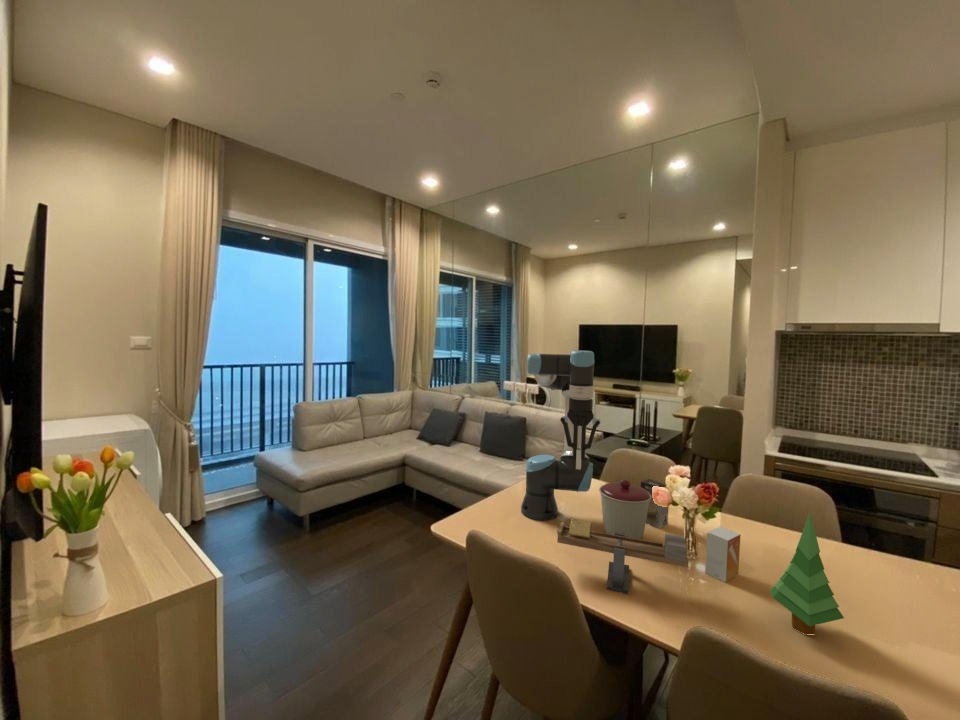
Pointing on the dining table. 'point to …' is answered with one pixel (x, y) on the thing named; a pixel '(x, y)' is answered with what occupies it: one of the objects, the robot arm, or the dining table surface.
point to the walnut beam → (632, 546)
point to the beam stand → (618, 571)
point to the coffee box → (655, 507)
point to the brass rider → (580, 529)
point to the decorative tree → (807, 586)
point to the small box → (722, 553)
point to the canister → (624, 508)
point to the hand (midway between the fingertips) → (578, 467)
